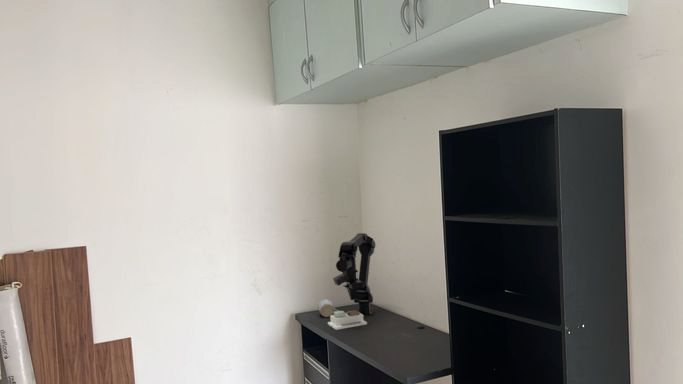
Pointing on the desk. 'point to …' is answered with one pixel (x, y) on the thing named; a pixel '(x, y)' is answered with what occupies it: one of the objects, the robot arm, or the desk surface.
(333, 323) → the key panel
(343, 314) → the sage key
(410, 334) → the desk surface
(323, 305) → the ceramic mug
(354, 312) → the walnut key
